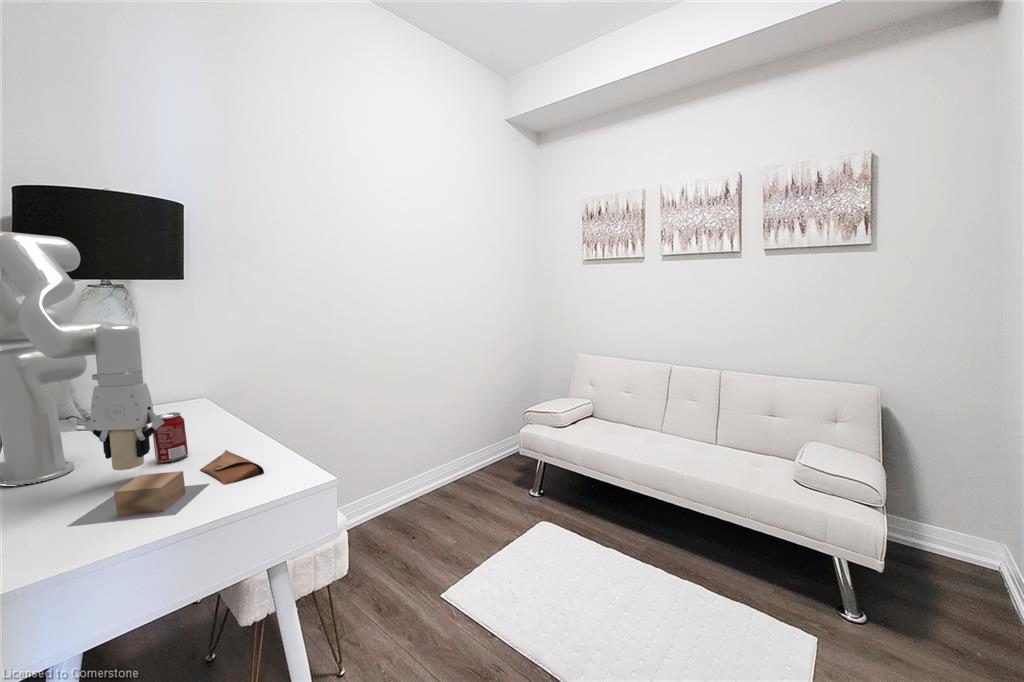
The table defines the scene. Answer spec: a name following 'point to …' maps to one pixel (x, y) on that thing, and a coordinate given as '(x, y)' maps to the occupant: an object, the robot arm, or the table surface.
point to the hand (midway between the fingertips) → (127, 454)
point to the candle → (124, 450)
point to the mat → (109, 514)
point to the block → (149, 493)
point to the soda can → (170, 438)
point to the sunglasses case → (231, 468)
